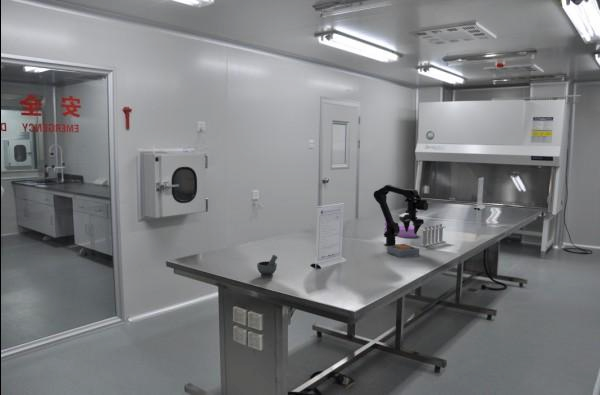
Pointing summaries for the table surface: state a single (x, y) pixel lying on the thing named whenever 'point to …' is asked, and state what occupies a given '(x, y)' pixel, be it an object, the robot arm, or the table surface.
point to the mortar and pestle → (267, 267)
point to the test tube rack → (432, 235)
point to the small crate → (403, 247)
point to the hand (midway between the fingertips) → (410, 232)
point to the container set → (404, 231)
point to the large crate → (402, 251)
